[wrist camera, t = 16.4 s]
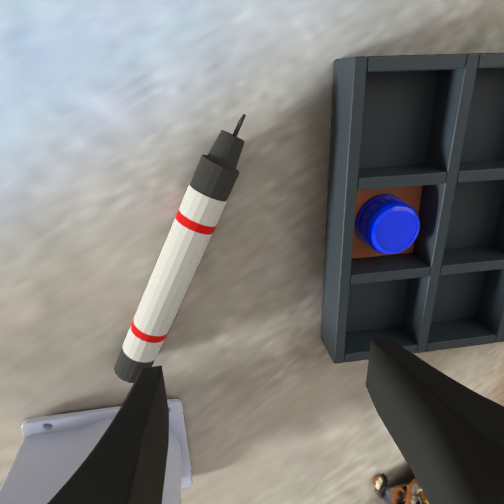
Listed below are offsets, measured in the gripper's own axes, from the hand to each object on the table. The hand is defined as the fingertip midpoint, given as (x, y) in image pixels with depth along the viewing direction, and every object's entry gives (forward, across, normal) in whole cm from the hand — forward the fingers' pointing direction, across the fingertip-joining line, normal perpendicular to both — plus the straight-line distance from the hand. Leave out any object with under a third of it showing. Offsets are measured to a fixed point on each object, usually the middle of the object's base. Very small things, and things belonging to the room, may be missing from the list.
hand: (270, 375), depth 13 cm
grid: (+9, -13, -2) cm, 16 cm away
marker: (+10, +3, -1) cm, 10 cm away
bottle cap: (+9, -8, -2) cm, 12 cm away
